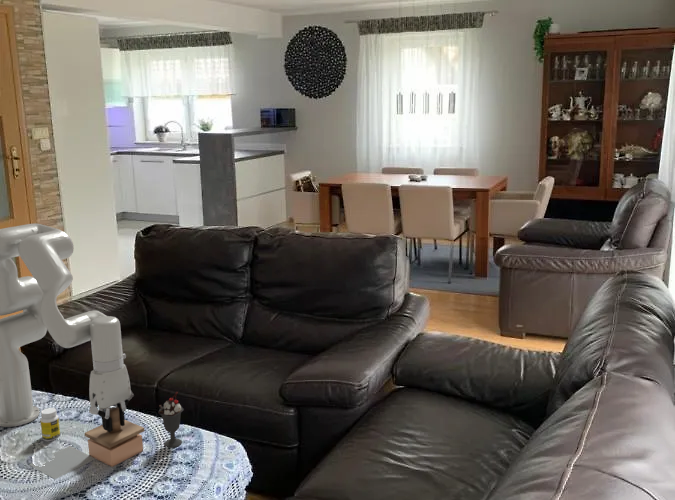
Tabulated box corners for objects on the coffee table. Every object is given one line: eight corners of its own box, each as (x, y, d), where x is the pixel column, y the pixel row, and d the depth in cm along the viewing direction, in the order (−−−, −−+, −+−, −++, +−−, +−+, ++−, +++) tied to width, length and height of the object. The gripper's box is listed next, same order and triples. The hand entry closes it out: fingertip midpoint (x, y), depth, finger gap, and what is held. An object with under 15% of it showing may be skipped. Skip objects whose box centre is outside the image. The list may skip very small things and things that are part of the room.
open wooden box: (89, 456, 182) (87, 439, 181) (120, 441, 190) (118, 425, 189) (112, 468, 176) (110, 450, 175) (143, 452, 184) (141, 435, 183)
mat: (29, 465, 178) (28, 464, 178) (69, 447, 187) (69, 445, 187) (55, 480, 171) (54, 479, 171) (96, 460, 180) (95, 458, 180)
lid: (84, 436, 181) (82, 412, 179) (119, 420, 189) (117, 397, 188) (110, 448, 174) (107, 423, 173) (144, 431, 183) (142, 407, 182)
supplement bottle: (53, 442, 190) (50, 415, 188) (38, 441, 191) (35, 413, 189) (63, 434, 194) (61, 407, 192) (49, 433, 195) (46, 406, 193)
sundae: (190, 440, 191) (187, 391, 187) (175, 451, 185) (171, 400, 181) (171, 435, 193) (168, 387, 190) (156, 446, 187) (152, 396, 184)
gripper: (125, 351, 186) (130, 412, 190) (72, 370, 173) (78, 435, 177) (142, 356, 182) (147, 419, 186) (89, 377, 169) (96, 444, 173)
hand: (114, 426), depth 181 cm, fingers closed on lid, 3 cm apart
